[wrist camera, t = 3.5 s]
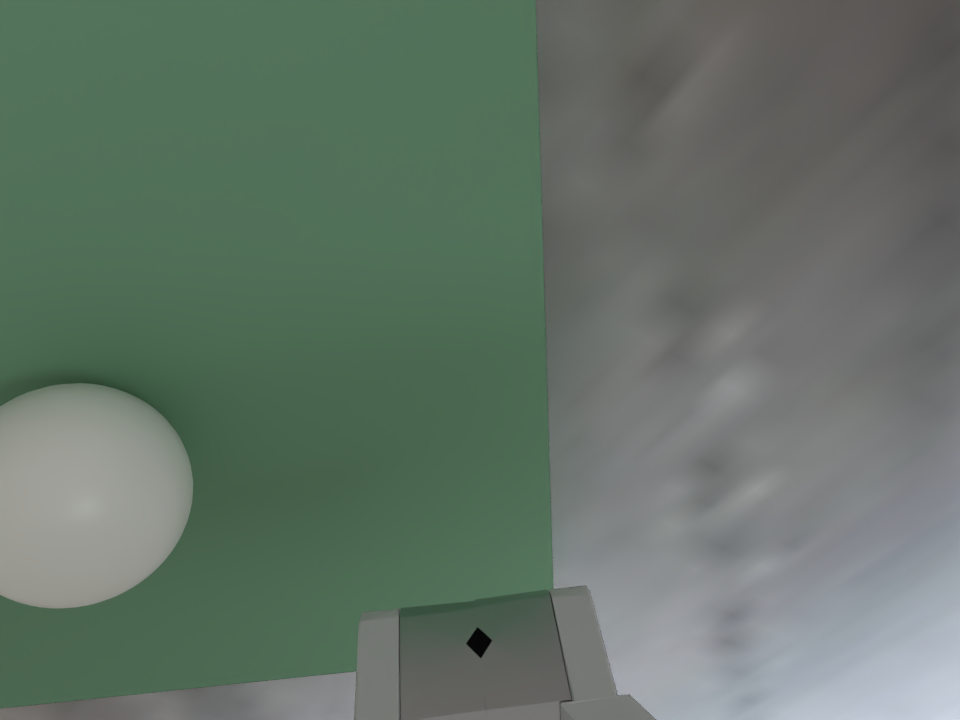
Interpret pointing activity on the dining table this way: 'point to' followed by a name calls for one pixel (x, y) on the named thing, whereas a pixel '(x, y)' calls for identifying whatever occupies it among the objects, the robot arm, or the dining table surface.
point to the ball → (86, 494)
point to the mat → (282, 314)
